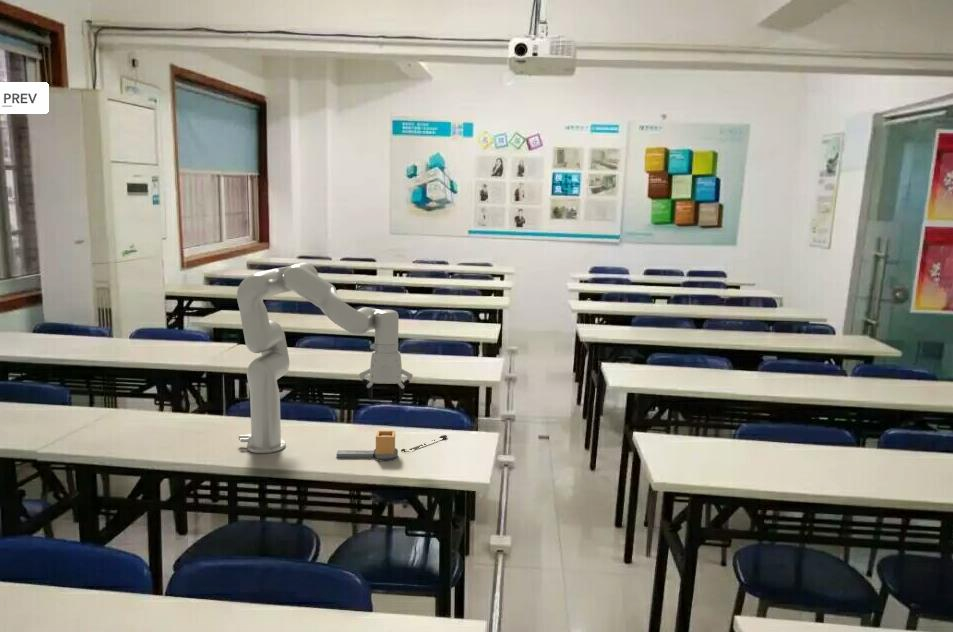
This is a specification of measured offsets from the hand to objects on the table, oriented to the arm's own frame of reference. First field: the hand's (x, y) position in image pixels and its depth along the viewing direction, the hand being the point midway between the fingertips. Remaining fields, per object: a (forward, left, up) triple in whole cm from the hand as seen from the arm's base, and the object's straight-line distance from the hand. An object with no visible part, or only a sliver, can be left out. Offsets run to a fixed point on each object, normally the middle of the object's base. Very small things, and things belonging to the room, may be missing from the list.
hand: (385, 398), depth 219 cm
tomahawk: (+14, +10, -21) cm, 27 cm away
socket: (0, 0, -18) cm, 18 cm away
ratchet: (-6, 0, -20) cm, 21 cm away
